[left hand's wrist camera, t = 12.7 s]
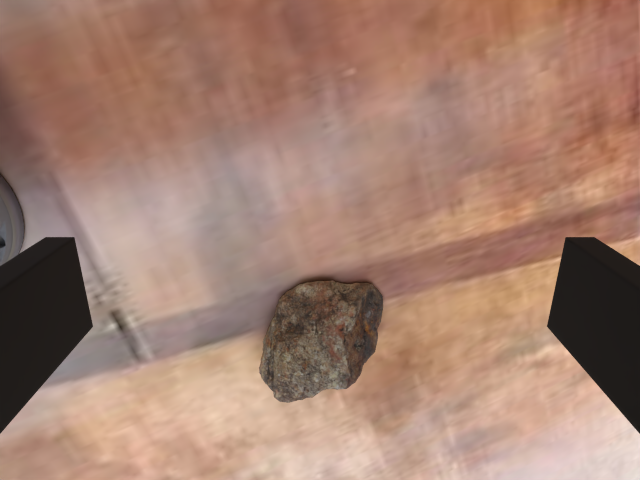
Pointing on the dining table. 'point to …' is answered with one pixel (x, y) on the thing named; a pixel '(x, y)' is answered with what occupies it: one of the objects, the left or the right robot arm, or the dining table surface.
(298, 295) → the rock
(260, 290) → the dining table surface
